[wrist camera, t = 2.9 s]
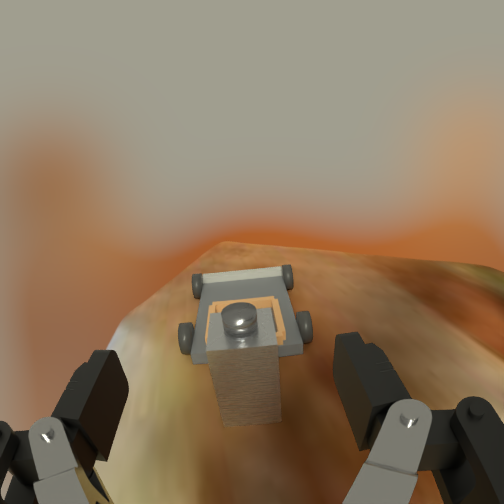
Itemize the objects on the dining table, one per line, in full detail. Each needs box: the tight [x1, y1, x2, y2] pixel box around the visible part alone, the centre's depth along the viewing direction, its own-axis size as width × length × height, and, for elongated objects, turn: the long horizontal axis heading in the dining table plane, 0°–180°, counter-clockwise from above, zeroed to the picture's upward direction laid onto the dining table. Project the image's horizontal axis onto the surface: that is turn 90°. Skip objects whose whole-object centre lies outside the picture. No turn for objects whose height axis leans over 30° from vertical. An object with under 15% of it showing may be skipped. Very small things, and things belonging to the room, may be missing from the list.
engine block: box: [206, 302, 282, 427], centre depth 25 cm, size 5×5×10 cm
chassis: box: [178, 265, 313, 364], centre depth 41 cm, size 18×14×4 cm
